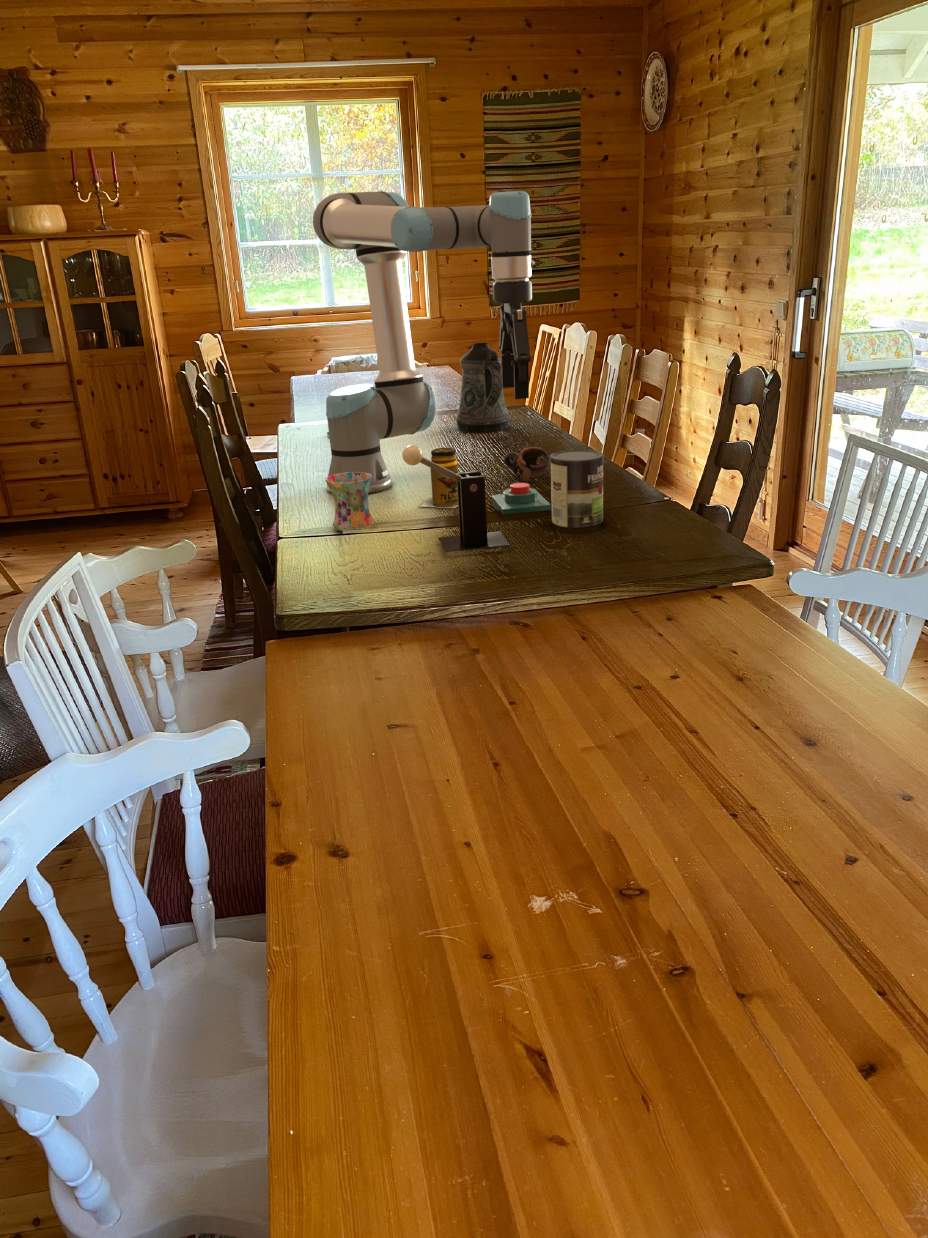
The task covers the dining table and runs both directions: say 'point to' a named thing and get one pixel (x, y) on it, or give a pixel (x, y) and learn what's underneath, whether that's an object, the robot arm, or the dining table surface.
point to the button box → (519, 502)
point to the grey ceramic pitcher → (482, 392)
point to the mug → (350, 499)
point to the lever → (426, 461)
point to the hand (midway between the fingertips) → (515, 392)
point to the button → (520, 488)
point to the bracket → (472, 517)
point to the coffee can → (577, 488)
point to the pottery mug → (528, 462)
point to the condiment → (443, 480)
